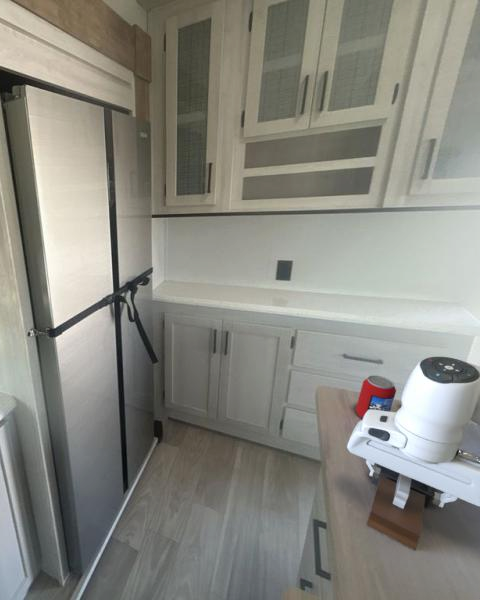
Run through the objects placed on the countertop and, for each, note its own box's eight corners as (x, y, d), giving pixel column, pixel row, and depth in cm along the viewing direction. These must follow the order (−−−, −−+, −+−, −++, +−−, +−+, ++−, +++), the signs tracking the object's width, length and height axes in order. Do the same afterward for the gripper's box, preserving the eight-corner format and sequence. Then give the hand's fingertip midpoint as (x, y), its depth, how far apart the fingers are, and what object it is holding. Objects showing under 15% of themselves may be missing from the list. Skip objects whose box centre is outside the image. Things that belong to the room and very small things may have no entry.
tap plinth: (414, 550, 62) (420, 536, 61) (366, 524, 67) (371, 511, 66) (419, 508, 69) (425, 495, 67) (375, 488, 74) (380, 475, 72)
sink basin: (381, 446, 84) (384, 435, 82) (431, 466, 77) (436, 454, 76) (371, 482, 75) (374, 471, 74) (427, 508, 69) (432, 496, 67)
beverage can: (374, 427, 89) (385, 391, 84) (349, 411, 95) (358, 377, 91) (392, 421, 90) (404, 385, 86) (367, 405, 96) (376, 371, 92)
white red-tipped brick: (403, 509, 65) (409, 494, 64) (392, 503, 66) (398, 489, 65) (408, 482, 70) (413, 468, 69) (397, 478, 71) (403, 463, 70)
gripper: (509, 456, 57) (481, 510, 62) (358, 406, 71) (346, 453, 77) (512, 480, 53) (482, 536, 58) (352, 422, 68) (339, 470, 73)
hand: (403, 488), depth 68 cm, fingers open, 8 cm apart
